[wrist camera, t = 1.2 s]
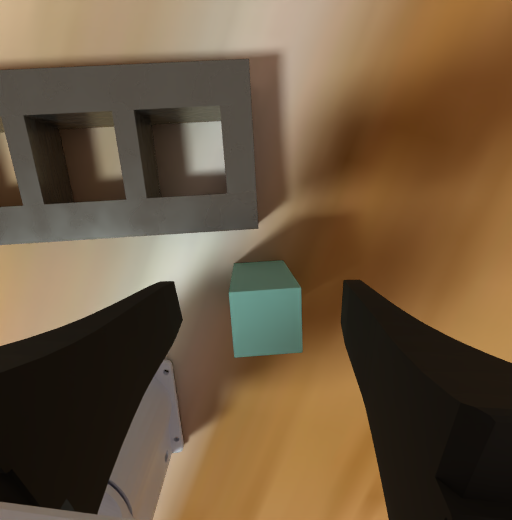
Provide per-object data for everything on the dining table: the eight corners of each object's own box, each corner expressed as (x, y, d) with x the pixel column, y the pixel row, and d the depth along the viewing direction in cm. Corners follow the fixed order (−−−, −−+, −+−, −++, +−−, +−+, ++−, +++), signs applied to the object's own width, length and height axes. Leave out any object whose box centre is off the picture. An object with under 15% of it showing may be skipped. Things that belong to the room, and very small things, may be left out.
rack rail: (256, 224, 20) (258, 228, 17) (-31, 242, 20) (-79, 250, 17) (248, 82, 18) (248, 58, 15) (-76, 97, 18) (-140, 76, 15)
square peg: (284, 305, 22) (302, 352, 15) (237, 309, 22) (234, 357, 15) (282, 260, 21) (301, 287, 14) (233, 263, 21) (228, 292, 14)
